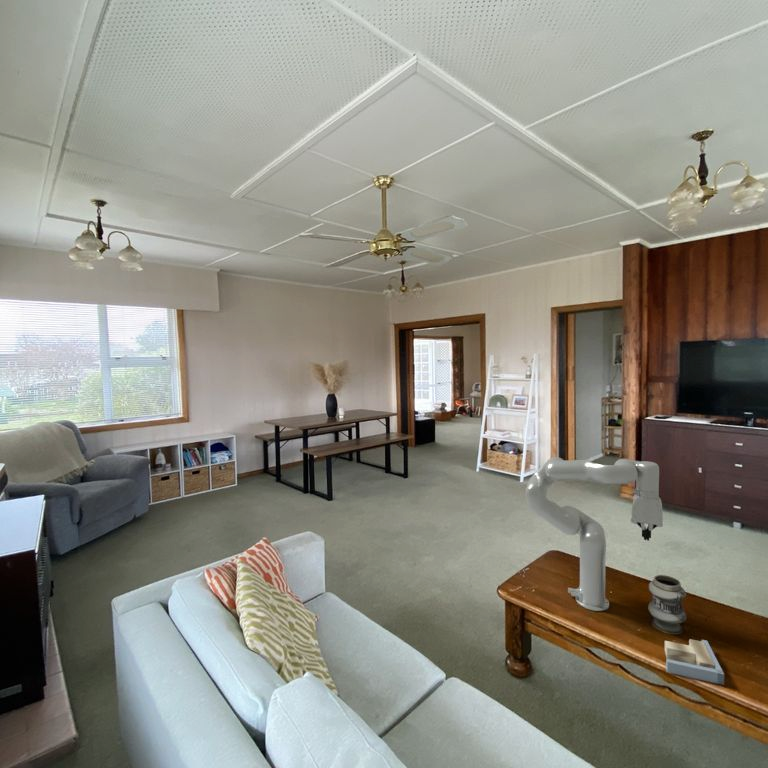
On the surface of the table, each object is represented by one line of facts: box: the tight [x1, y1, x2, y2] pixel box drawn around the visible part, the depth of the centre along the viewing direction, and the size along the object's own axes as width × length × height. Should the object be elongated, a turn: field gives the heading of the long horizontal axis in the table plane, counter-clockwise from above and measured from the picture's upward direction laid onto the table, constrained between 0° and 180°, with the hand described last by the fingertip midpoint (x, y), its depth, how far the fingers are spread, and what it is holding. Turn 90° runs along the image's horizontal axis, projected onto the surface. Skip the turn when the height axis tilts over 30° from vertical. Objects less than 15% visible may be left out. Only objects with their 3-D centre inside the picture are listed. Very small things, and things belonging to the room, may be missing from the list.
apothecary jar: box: [647, 574, 687, 635], centre depth 160 cm, size 12×12×18 cm
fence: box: [665, 639, 725, 686], centre depth 142 cm, size 15×17×4 cm
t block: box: [664, 638, 715, 669], centre depth 143 cm, size 12×12×4 cm
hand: (646, 539), depth 167 cm, fingers closed
